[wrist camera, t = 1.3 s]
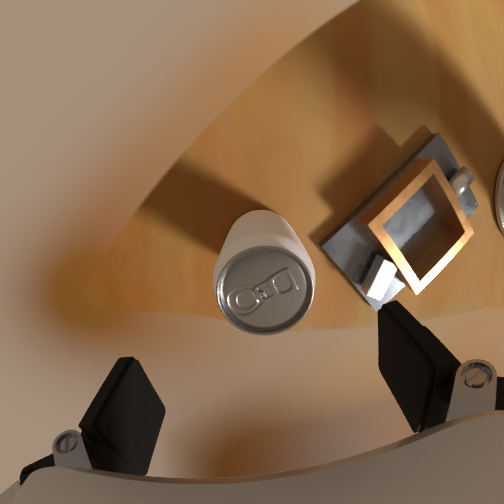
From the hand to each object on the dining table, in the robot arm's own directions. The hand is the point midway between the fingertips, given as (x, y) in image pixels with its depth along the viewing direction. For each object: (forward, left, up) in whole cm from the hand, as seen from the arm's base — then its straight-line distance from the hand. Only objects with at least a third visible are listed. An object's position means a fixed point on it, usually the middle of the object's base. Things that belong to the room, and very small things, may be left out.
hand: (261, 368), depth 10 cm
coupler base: (-13, +9, -19) cm, 25 cm away
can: (0, 0, -19) cm, 19 cm away
